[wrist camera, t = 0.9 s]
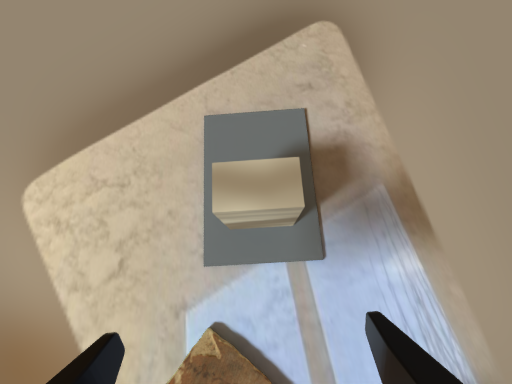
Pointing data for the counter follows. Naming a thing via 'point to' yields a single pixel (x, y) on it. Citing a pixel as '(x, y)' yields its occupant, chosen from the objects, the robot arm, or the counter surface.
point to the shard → (216, 364)
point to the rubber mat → (256, 148)
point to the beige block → (257, 192)
